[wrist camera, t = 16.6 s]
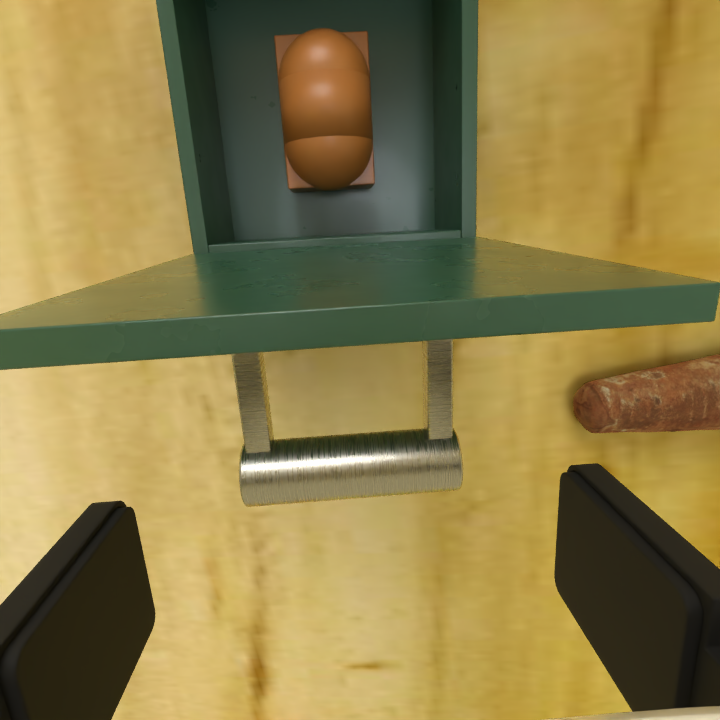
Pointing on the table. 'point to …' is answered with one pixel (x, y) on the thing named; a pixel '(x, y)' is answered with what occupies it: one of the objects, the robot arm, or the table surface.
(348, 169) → the bread roll
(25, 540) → the table surface
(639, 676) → the robot arm
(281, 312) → the warmer lid
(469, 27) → the box
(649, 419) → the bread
